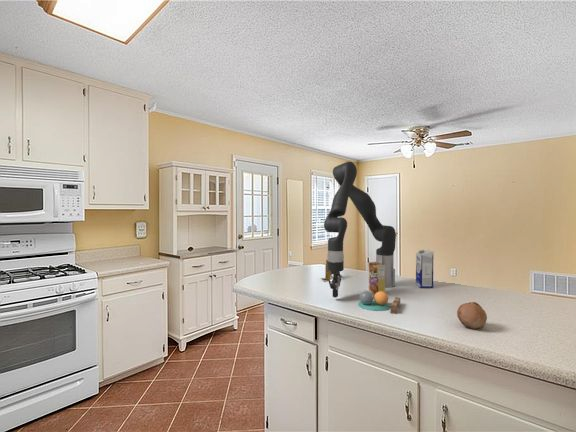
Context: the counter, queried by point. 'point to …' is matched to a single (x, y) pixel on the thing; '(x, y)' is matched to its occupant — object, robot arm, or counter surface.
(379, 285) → the candy box
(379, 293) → the orange ball
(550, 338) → the counter surface
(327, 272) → the condiment
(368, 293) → the gray ball
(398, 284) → the counter surface
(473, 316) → the brown oval lump
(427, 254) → the milk carton
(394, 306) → the stop bar
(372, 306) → the teal mark
